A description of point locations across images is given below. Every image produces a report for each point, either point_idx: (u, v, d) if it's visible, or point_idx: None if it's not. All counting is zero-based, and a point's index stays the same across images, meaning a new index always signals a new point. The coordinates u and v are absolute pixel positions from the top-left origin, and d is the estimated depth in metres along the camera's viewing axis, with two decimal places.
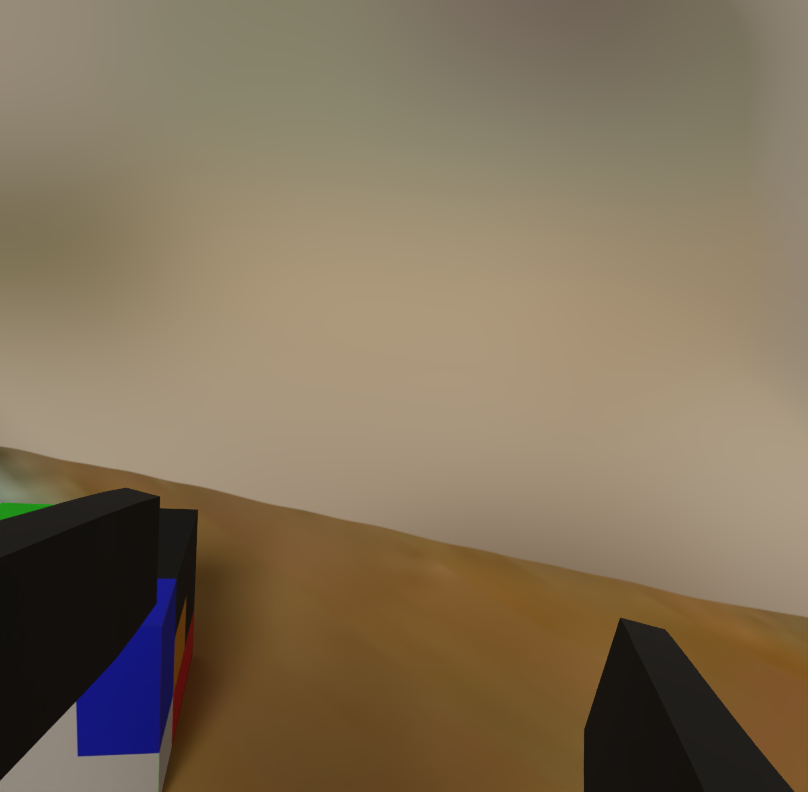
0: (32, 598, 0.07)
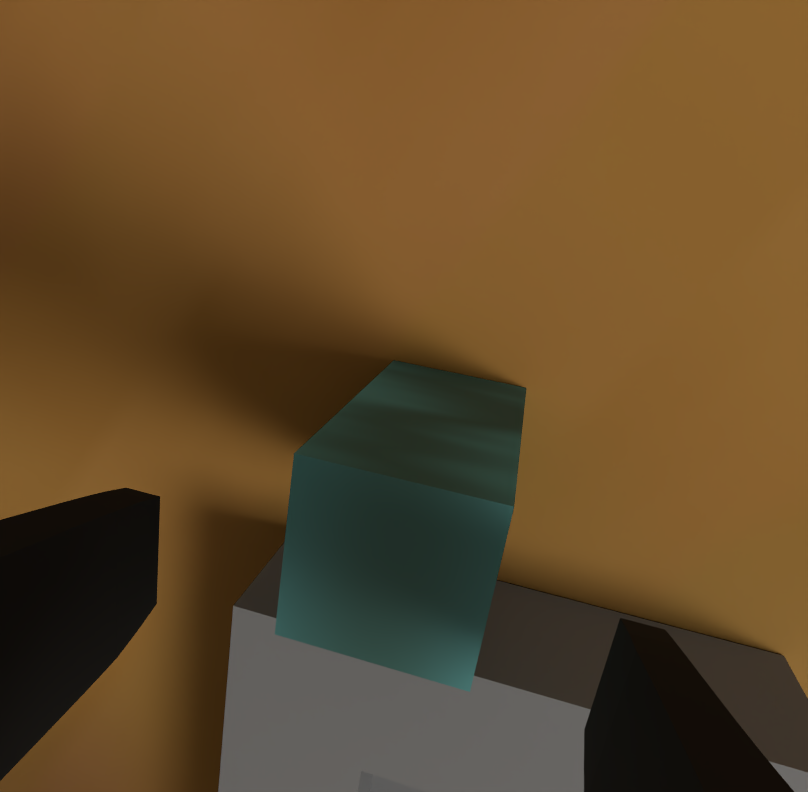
0: (32, 598, 0.07)
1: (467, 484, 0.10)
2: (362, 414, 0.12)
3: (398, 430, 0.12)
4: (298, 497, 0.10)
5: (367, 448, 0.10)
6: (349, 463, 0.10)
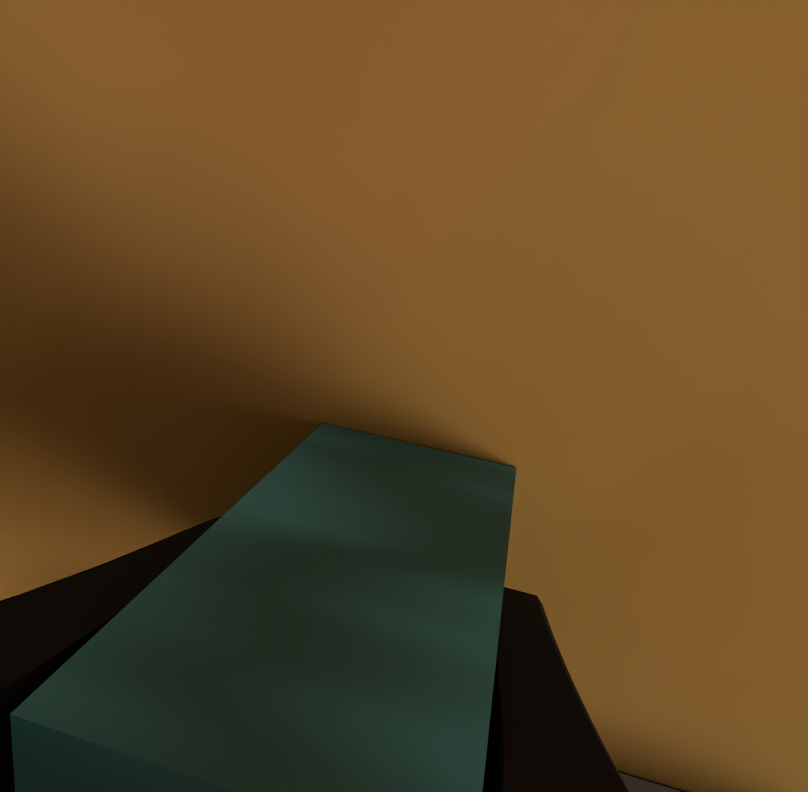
0: None
1: (377, 787, 0.05)
2: (222, 560, 0.07)
3: (277, 599, 0.06)
4: None
5: (189, 672, 0.05)
6: (128, 735, 0.05)
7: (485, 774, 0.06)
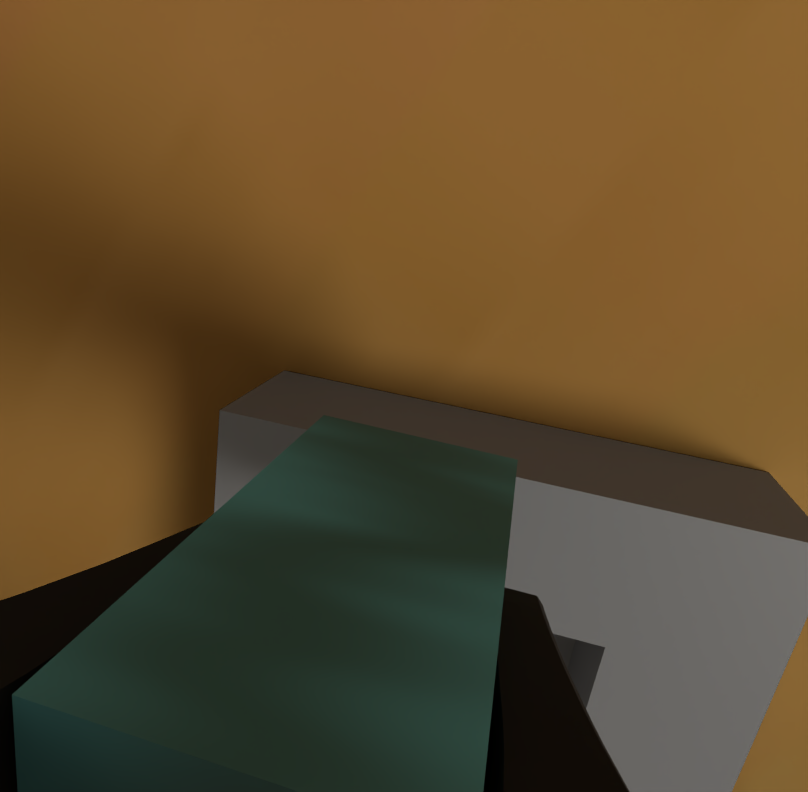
0: None
1: (381, 767, 0.05)
2: (223, 547, 0.07)
3: (279, 586, 0.06)
4: (33, 776, 0.05)
5: (192, 656, 0.05)
6: (131, 716, 0.05)
7: (485, 774, 0.06)
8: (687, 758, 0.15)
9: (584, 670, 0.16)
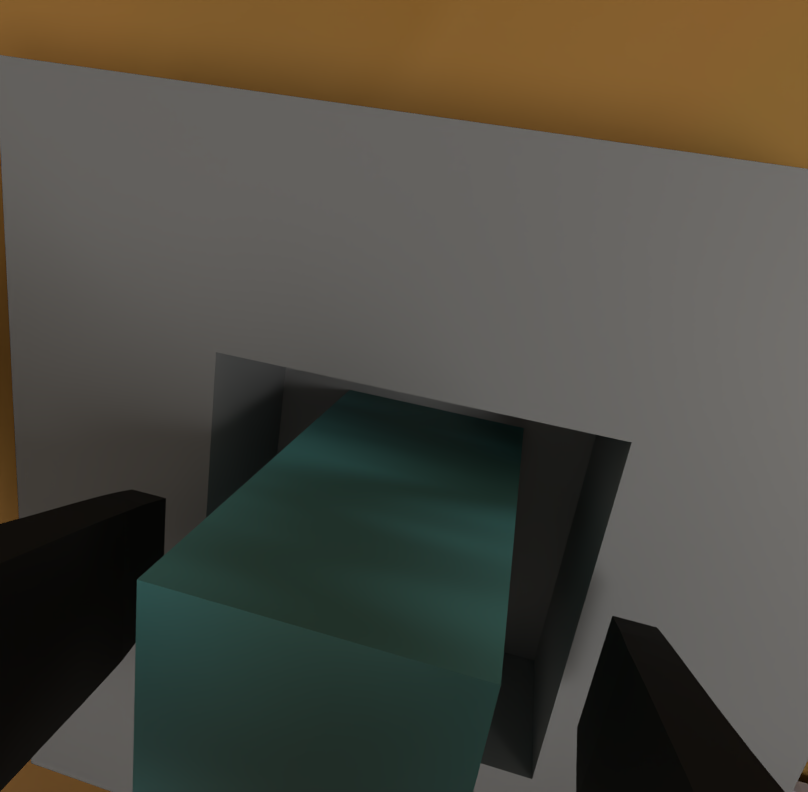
0: (40, 600, 0.07)
1: (424, 634, 0.06)
2: (280, 487, 0.08)
3: (330, 515, 0.08)
4: (149, 647, 0.06)
5: (268, 560, 0.07)
6: (229, 595, 0.06)
7: None
8: (766, 637, 0.09)
9: (594, 511, 0.10)
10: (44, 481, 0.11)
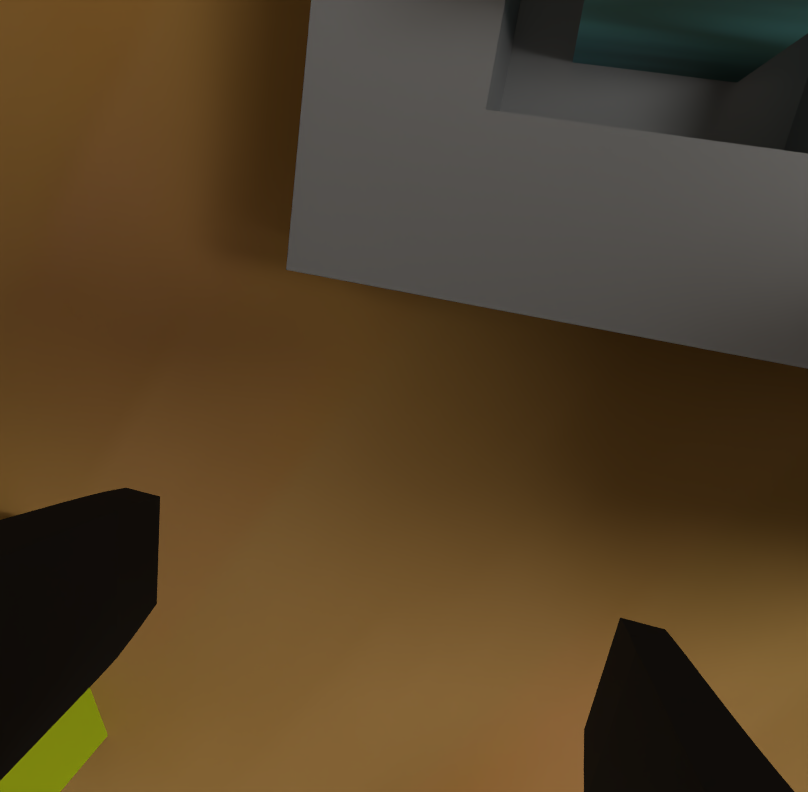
0: (32, 598, 0.07)
1: None
2: None
3: None
4: None
5: None
6: None
7: None
8: None
9: None
10: None
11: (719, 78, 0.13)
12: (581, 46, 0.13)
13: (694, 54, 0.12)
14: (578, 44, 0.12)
